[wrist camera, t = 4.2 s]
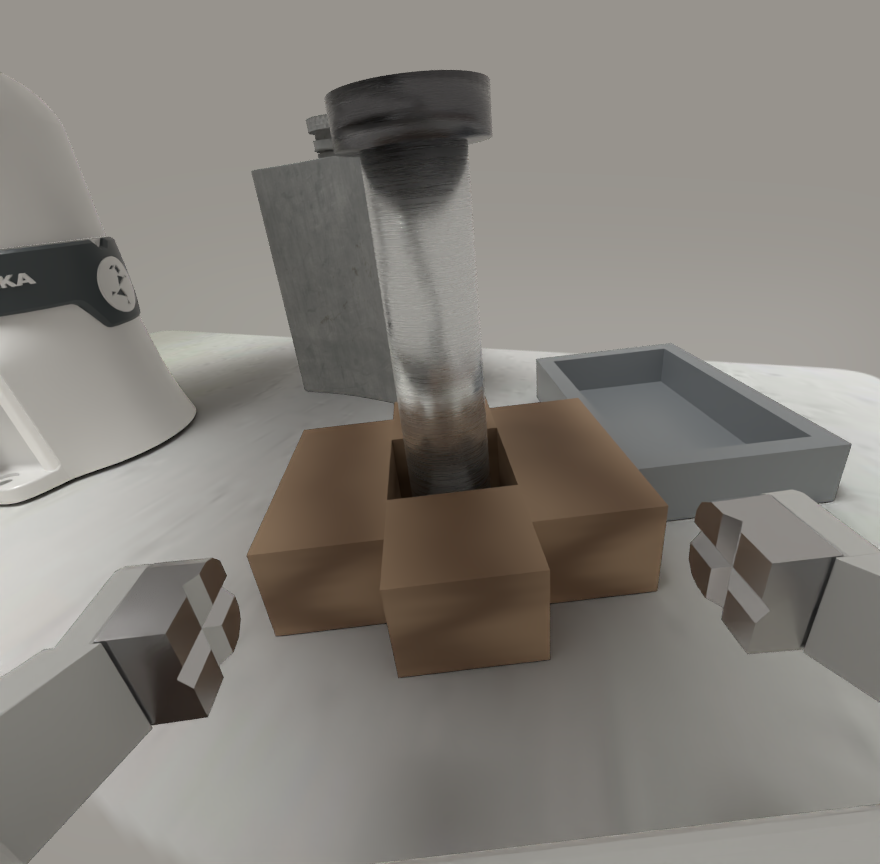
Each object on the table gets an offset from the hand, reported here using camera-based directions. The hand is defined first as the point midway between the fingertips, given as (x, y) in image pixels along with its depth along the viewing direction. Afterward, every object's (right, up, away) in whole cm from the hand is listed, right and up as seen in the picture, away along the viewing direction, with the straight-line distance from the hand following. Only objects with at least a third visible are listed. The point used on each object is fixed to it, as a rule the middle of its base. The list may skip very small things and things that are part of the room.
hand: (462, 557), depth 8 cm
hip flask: (-6, +5, +33) cm, 34 cm away
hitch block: (0, -3, +15) cm, 15 cm away
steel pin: (0, -3, +15) cm, 15 cm away
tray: (+12, +2, +21) cm, 24 cm away
